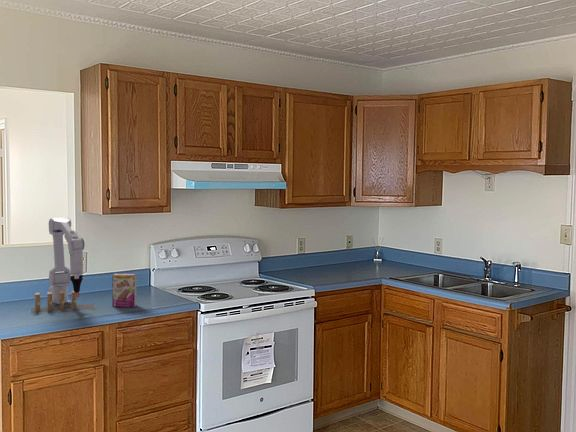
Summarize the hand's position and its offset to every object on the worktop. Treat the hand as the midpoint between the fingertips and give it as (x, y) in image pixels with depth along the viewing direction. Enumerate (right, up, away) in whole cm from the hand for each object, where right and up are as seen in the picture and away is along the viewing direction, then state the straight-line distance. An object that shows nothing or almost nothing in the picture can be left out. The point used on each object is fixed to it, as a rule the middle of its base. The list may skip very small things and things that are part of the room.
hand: (76, 291), depth 283 cm
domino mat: (-8, -10, +5) cm, 14 cm away
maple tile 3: (-9, -9, +5) cm, 14 cm away
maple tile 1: (-19, -9, +1) cm, 21 cm away
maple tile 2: (-14, -9, +3) cm, 17 cm away
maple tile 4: (-4, -9, +7) cm, 12 cm away
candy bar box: (+20, -10, +12) cm, 25 cm away
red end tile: (0, -2, 0) cm, 2 cm away
